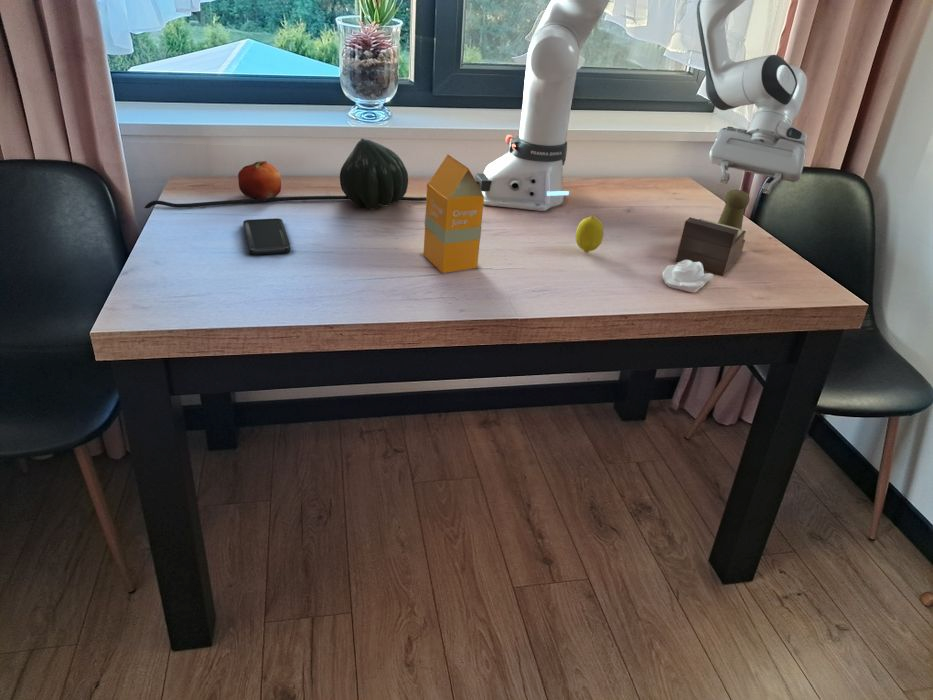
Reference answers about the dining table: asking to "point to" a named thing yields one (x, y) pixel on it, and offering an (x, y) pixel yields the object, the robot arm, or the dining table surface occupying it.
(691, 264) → the rose
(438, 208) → the orange juice
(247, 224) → the phone
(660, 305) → the dining table surface
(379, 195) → the squash
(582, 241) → the lemon
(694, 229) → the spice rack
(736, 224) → the cork
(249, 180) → the tomato
